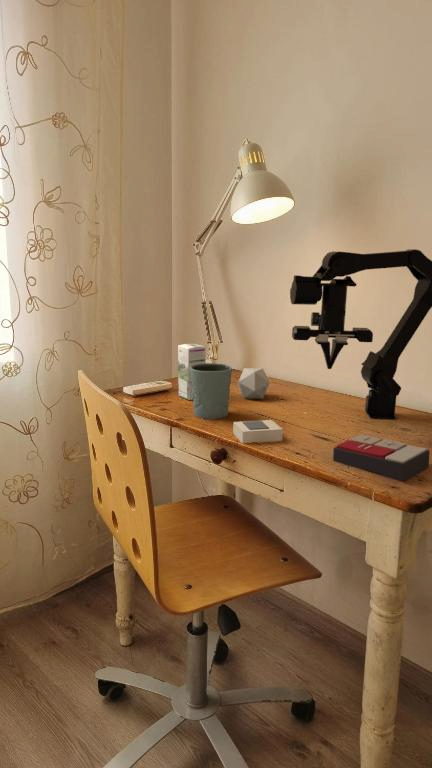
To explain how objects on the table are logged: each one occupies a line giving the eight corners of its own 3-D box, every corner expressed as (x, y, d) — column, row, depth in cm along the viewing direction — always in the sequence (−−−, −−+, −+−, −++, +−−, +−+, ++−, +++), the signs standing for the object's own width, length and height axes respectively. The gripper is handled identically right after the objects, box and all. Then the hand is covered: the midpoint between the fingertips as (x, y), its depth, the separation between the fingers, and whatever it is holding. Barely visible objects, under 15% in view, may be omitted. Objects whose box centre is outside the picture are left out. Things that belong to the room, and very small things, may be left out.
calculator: (360, 432, 122) (430, 446, 111) (360, 452, 122) (429, 467, 112) (332, 444, 114) (405, 460, 104) (332, 465, 115) (403, 483, 104)
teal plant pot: (238, 414, 144) (240, 367, 142) (211, 422, 137) (212, 373, 134) (209, 406, 151) (209, 361, 148) (181, 413, 144) (181, 366, 141)
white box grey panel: (271, 418, 131) (233, 421, 129) (282, 428, 125) (242, 430, 122) (270, 432, 132) (233, 434, 130) (282, 442, 125) (242, 445, 123)
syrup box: (205, 398, 159) (207, 346, 156) (187, 400, 156) (188, 347, 153) (194, 393, 164) (195, 342, 160) (176, 396, 160) (177, 344, 157)
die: (258, 405, 155) (278, 374, 156) (230, 387, 156) (250, 357, 157) (256, 408, 164) (274, 379, 165) (229, 391, 164) (248, 362, 165)
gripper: (365, 303, 146) (360, 363, 150) (291, 300, 147) (288, 361, 150) (375, 307, 135) (370, 372, 139) (295, 305, 136) (292, 370, 140)
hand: (329, 368), depth 142 cm, fingers closed
